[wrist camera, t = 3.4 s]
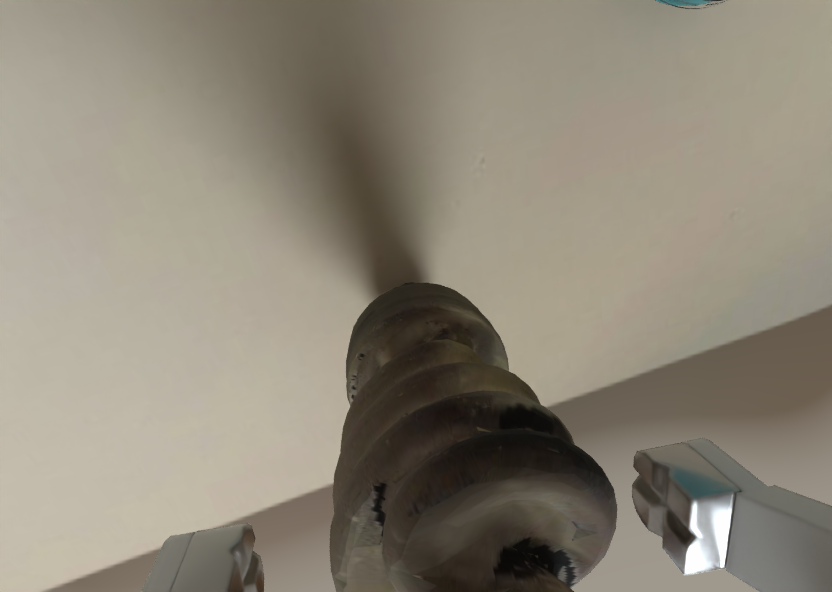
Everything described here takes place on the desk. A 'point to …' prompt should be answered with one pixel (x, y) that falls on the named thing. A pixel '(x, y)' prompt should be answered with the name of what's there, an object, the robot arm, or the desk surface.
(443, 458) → the light bulb
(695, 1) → the beverage bottle
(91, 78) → the desk surface
